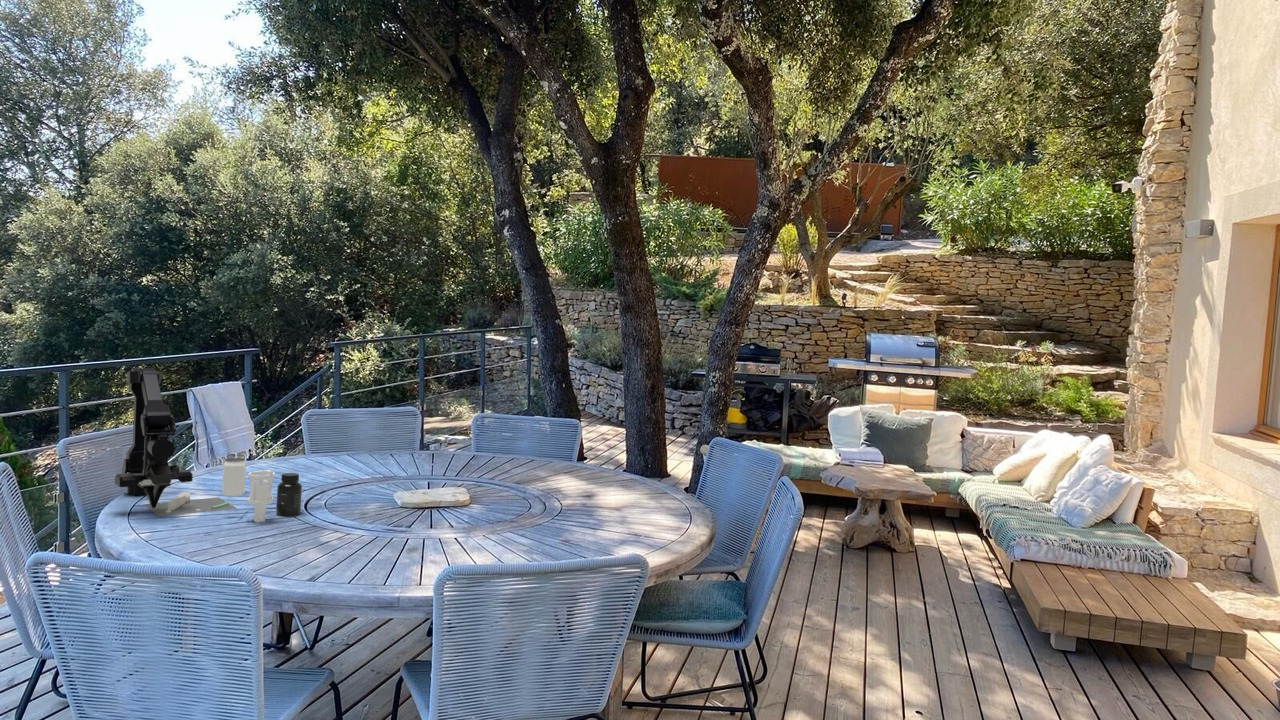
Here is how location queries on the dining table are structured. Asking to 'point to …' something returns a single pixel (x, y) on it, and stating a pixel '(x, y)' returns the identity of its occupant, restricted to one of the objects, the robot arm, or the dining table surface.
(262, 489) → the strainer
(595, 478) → the dining table surface
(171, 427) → the robot arm
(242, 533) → the dining table surface
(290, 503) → the supplement bottle
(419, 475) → the dining table surface
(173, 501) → the beige wooden bar
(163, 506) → the dial board
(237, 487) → the can
